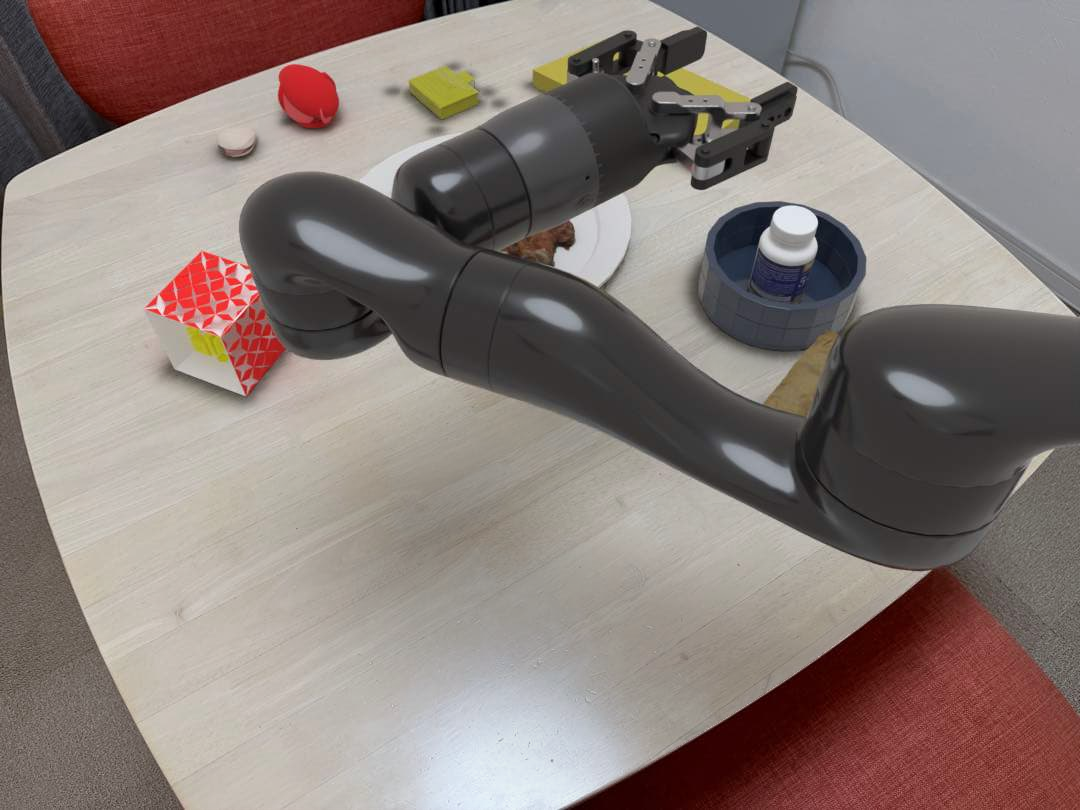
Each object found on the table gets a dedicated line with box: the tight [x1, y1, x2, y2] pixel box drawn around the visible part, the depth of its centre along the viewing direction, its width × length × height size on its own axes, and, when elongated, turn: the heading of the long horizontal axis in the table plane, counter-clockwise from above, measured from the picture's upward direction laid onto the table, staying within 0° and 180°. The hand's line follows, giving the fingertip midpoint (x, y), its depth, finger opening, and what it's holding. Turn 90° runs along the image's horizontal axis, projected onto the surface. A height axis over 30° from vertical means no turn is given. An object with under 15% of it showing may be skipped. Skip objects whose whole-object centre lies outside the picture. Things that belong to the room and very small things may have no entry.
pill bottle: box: [748, 206, 818, 304], centre depth 82 cm, size 5×5×9 cm
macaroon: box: [215, 126, 257, 158], centre depth 100 cm, size 4×5×2 cm
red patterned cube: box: [143, 250, 287, 397], centre depth 79 cm, size 8×8×8 cm
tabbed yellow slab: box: [392, 64, 501, 122], centre depth 106 cm, size 10×9×3 cm
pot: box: [697, 200, 867, 352], centre depth 84 cm, size 15×15×6 cm
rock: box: [763, 330, 839, 416], centre depth 73 cm, size 11×9×10 cm
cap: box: [277, 63, 340, 129], centre depth 103 cm, size 8×6×6 cm
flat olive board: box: [532, 35, 752, 135], centre depth 105 cm, size 12×2×24 cm
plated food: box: [358, 131, 632, 289], centre depth 91 cm, size 30×30×3 cm
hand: (745, 67), depth 61 cm, fingers open, 8 cm apart
